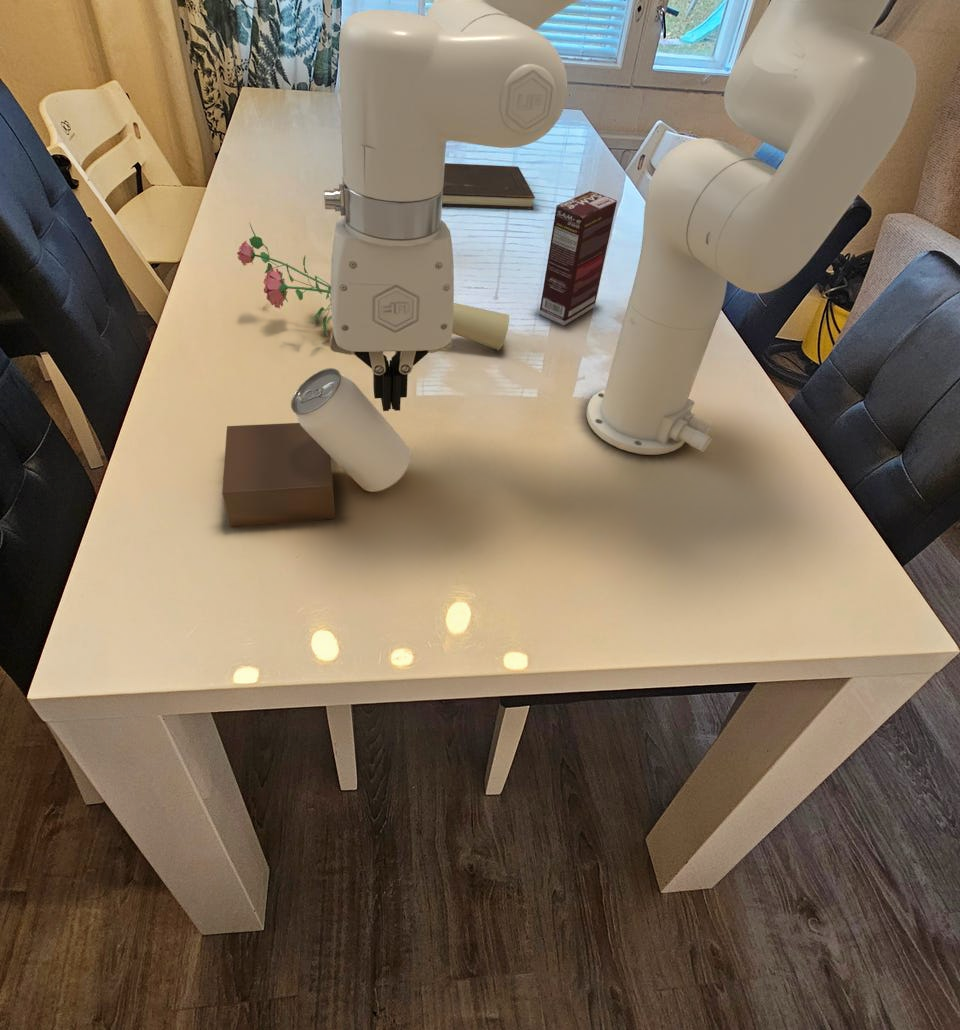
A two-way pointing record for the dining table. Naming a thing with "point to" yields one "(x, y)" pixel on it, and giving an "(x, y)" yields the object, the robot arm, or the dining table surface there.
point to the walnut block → (275, 475)
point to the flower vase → (466, 319)
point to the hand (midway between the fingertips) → (389, 402)
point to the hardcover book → (485, 187)
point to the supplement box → (576, 256)
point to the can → (351, 430)
